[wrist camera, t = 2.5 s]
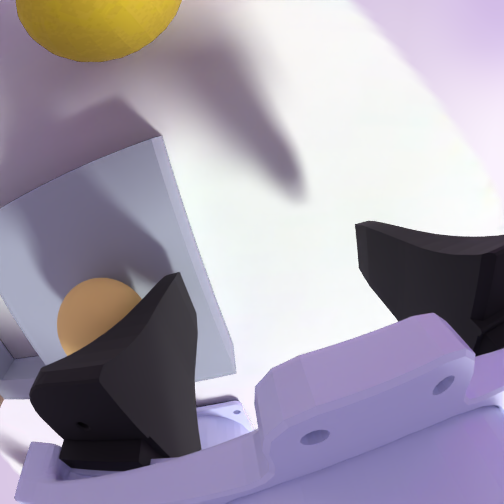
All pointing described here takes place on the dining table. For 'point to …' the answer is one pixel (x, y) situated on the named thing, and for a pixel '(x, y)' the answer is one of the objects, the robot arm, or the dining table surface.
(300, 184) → the dining table surface
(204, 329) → the grey piece
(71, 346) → the ball
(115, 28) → the lemon
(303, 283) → the dining table surface
